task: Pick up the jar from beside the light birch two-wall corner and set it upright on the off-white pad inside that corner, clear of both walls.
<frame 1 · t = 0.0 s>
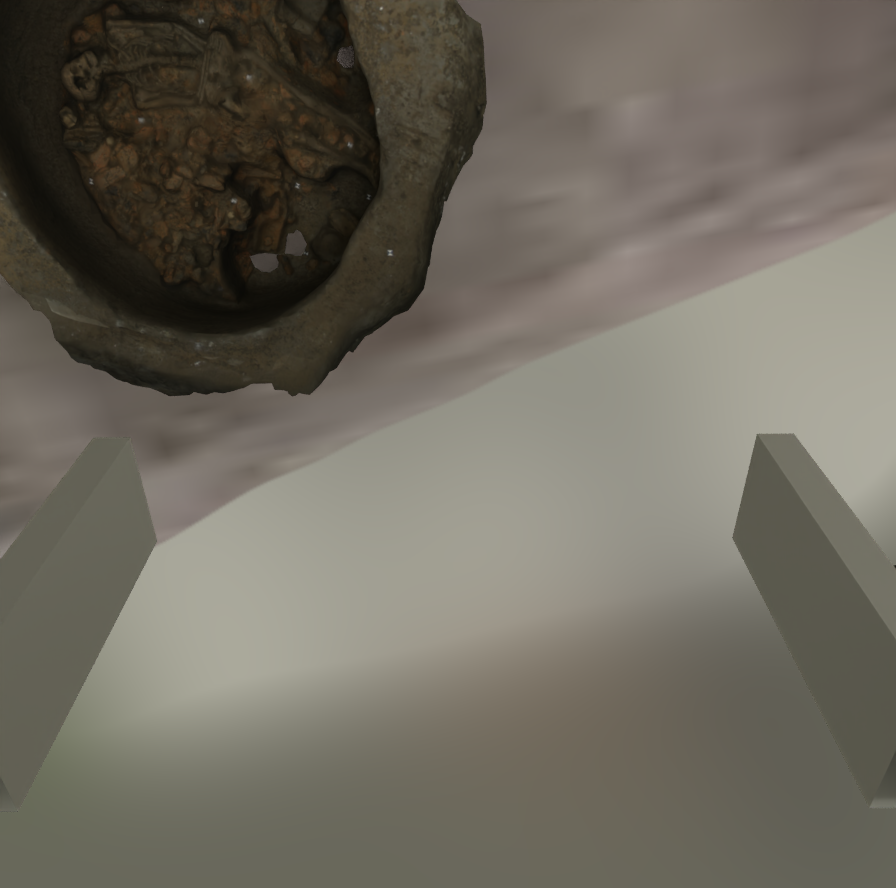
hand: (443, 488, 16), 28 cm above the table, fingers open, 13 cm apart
stone bowl: (220, 99, 38), on the table
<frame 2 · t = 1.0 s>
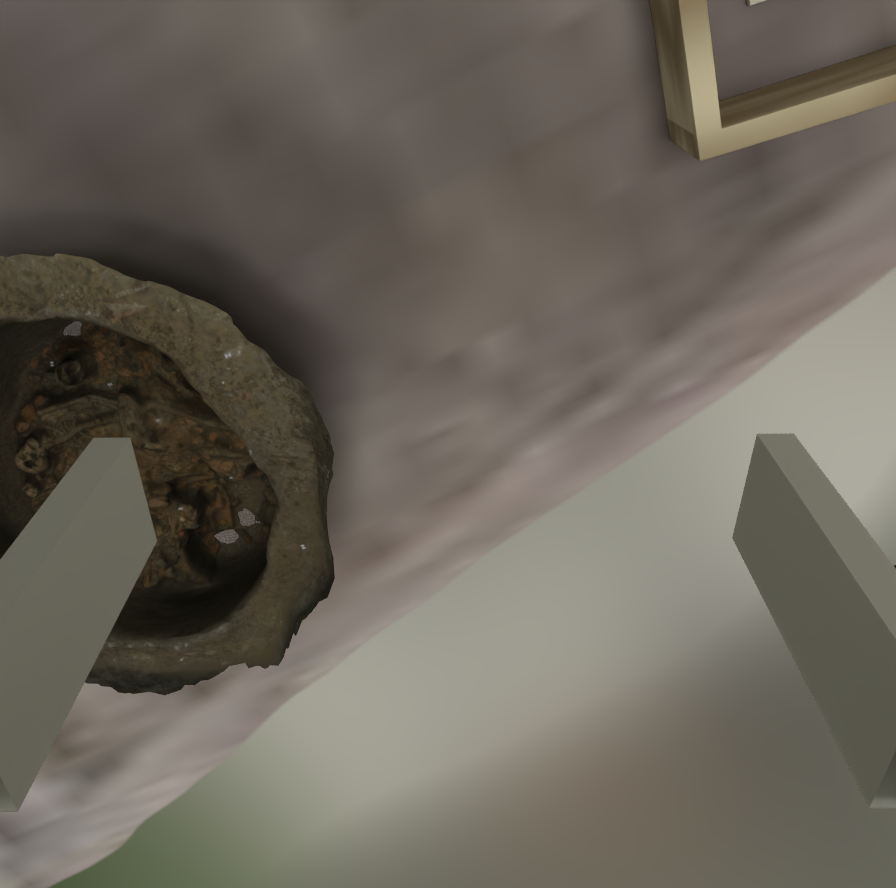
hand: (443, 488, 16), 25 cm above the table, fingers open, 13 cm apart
stone bowl: (147, 430, 45), on the table
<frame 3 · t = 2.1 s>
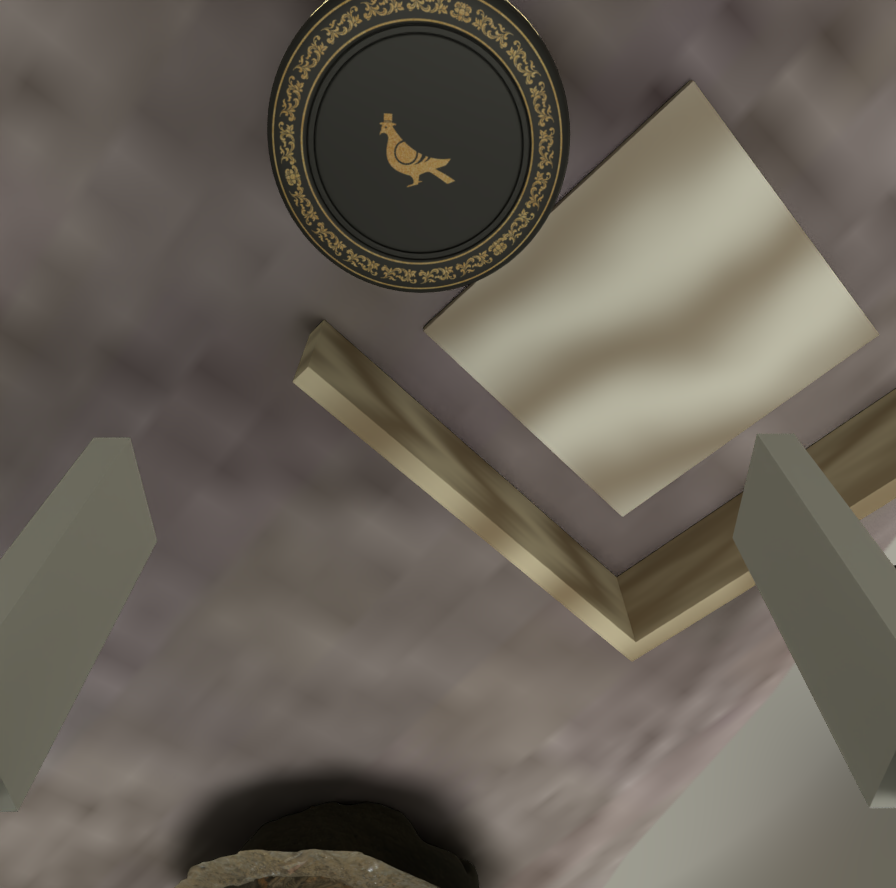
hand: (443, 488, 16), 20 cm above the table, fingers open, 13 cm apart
stone bowl: (342, 858, 59), on the table
jar: (422, 113, 31), on the table
arena: (650, 329, 36), on the table
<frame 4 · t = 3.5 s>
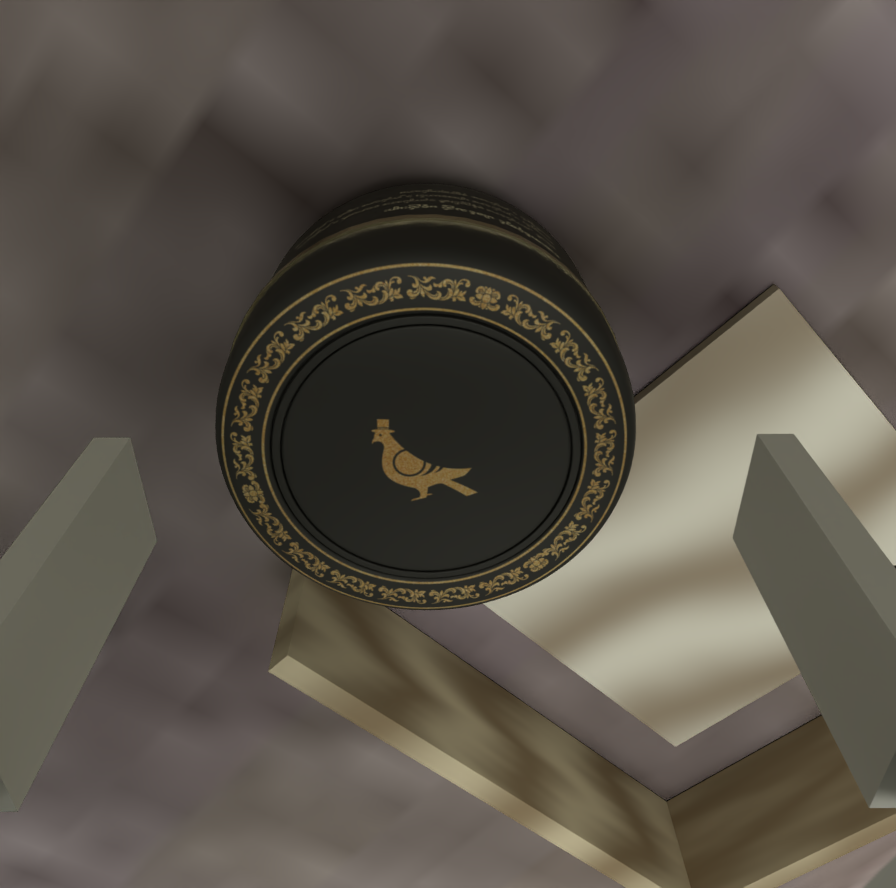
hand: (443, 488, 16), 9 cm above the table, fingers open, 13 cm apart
jar: (428, 328, 24), on the table
arena: (713, 554, 29), on the table
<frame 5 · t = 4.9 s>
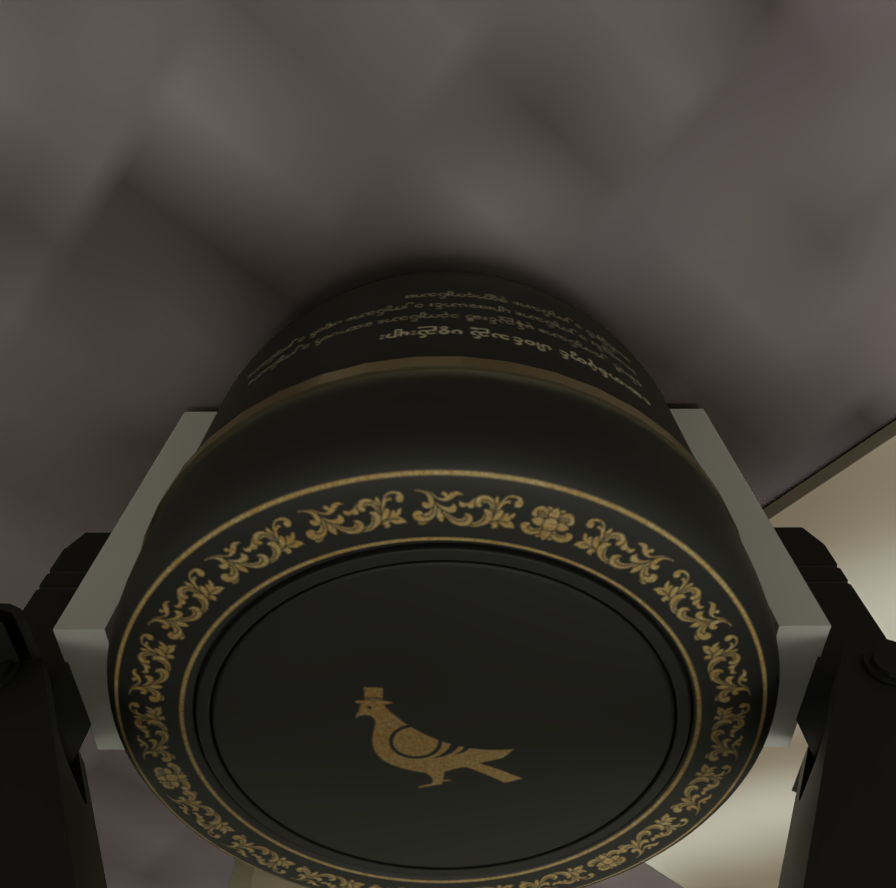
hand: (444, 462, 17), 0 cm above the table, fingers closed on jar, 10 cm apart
jar: (444, 452, 18), on the table, touching gripper
arena: (810, 720, 22), on the table
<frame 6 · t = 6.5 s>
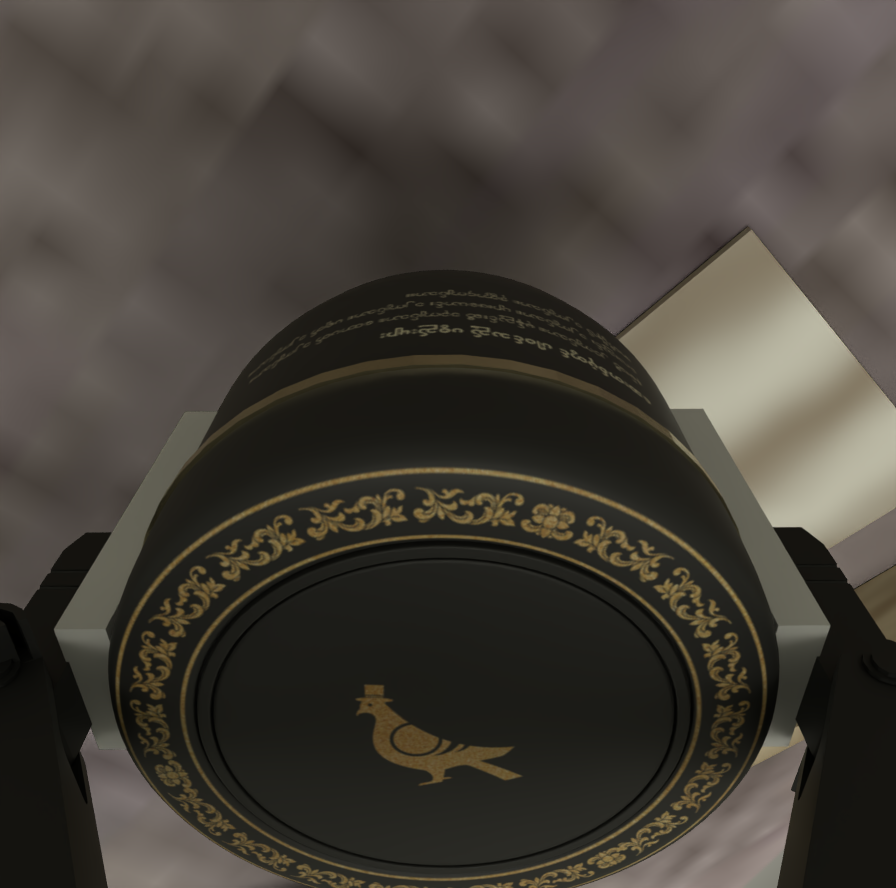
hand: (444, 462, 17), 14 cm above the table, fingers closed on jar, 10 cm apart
jar: (444, 451, 18), point 13 cm above the table, touching gripper
arena: (699, 469, 34), on the table
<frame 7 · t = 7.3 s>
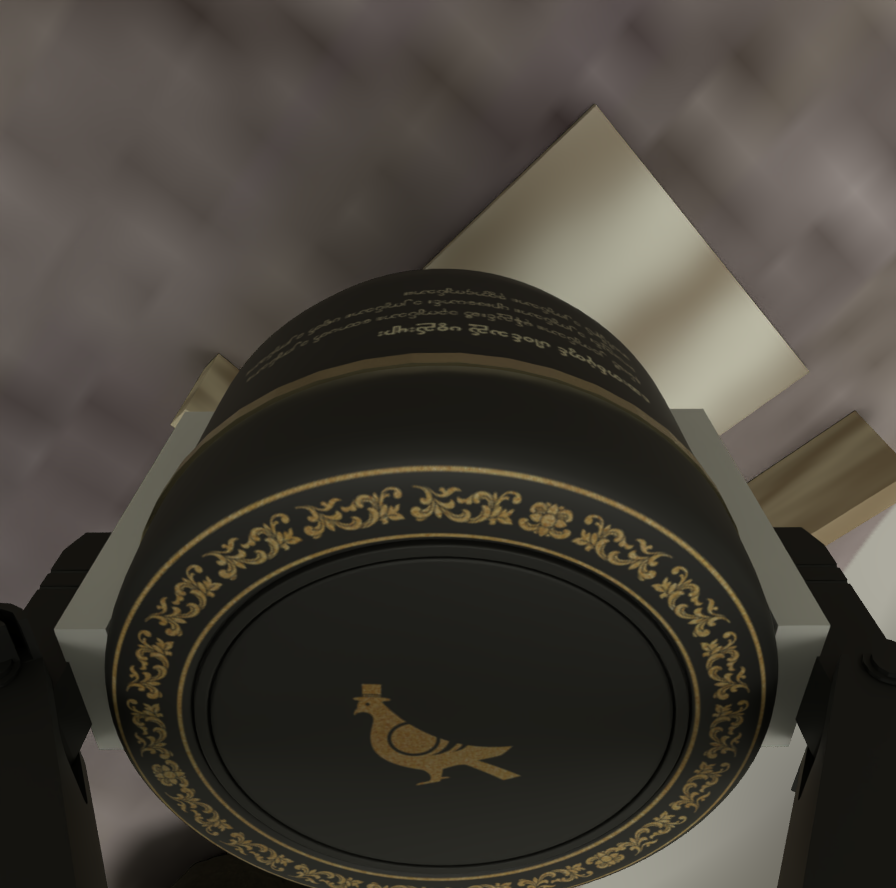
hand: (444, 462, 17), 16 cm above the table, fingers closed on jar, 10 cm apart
jar: (442, 450, 18), point 16 cm above the table, touching gripper
arena: (566, 365, 34), on the table
when the fingers open (2 cm above the table, at t = 10.9 s): jar drops 1 cm, resting on arena.
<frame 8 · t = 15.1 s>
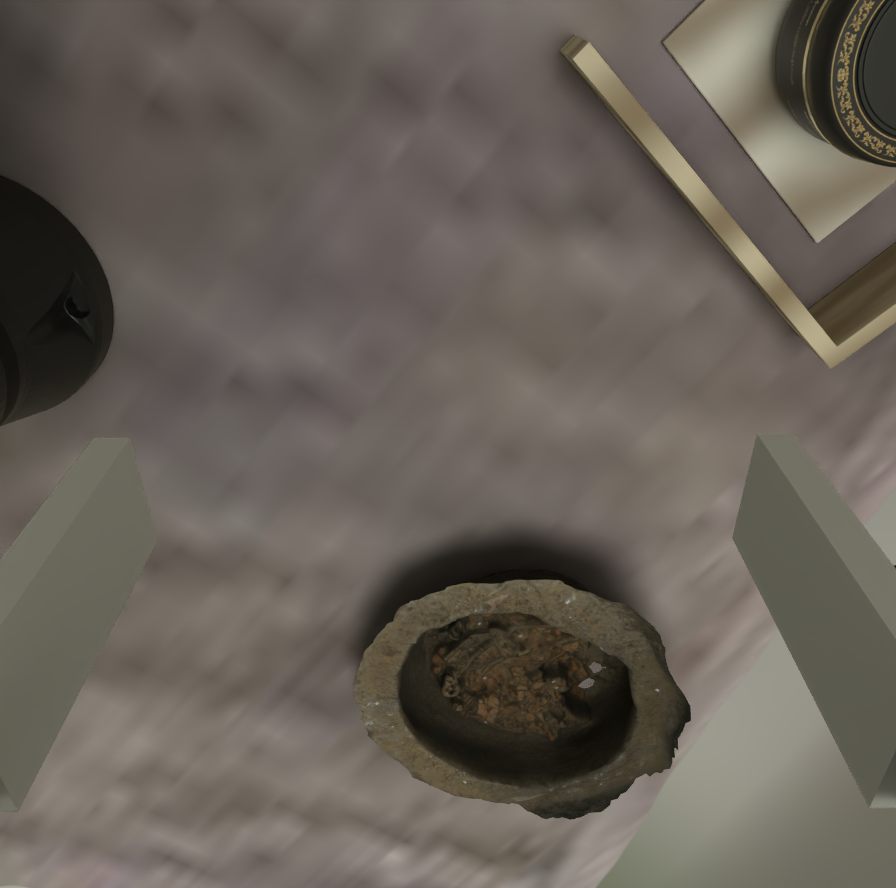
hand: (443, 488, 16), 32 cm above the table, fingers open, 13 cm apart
stone bowl: (510, 639, 63), on the table
jar: (858, 40, 40), resting on arena
arena: (863, 40, 40), on the table
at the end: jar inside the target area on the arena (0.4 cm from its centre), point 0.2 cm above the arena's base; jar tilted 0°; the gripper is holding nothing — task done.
